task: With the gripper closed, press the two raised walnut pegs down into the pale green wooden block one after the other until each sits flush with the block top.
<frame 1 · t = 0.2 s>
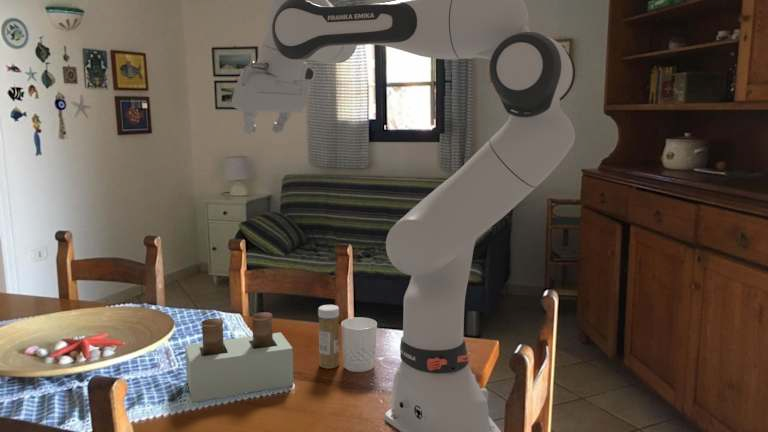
hand: (263, 132, 122), 51 cm above the table, tool tilted 20°, fingers open, 8 cm apart
peg 1: (212, 338, 122), point 10 cm above the table, slide at 6.0 cm
block: (239, 383, 125), on the table
white cup: (359, 367, 135), on the table
sprinkles bottle: (329, 366, 135), on the table
peg 2: (262, 331, 126), point 11 cm above the table, slide at 6.0 cm
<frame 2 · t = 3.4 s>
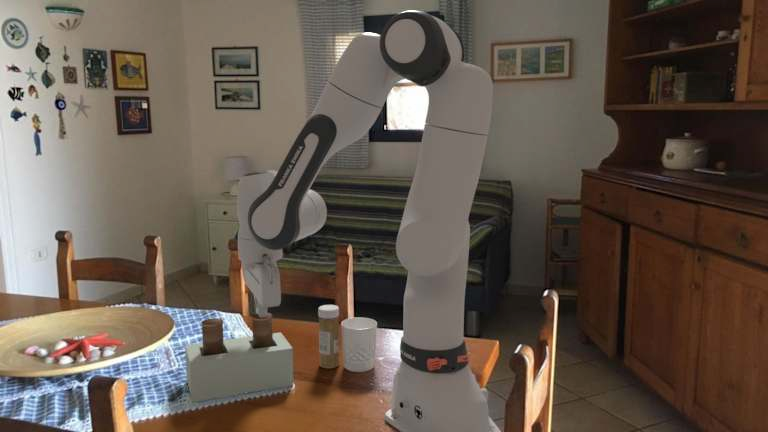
hand: (261, 315, 125), 14 cm above the table, tool pointing down, fingers closed, pressing on peg 2
peg 2: (262, 331, 126), point 10 cm above the table, slide at 5.9 cm, touching gripper
everything else where it was.
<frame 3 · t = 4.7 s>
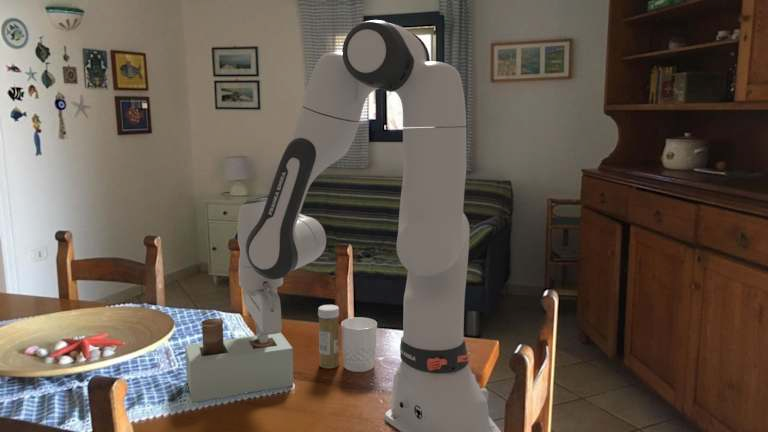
hand: (262, 341, 126), 8 cm above the table, tool pointing down, fingers closed, pressing on peg 2
peg 2: (263, 357, 127), point 5 cm above the table, slide at 0.5 cm, touching gripper
everything else where it was.
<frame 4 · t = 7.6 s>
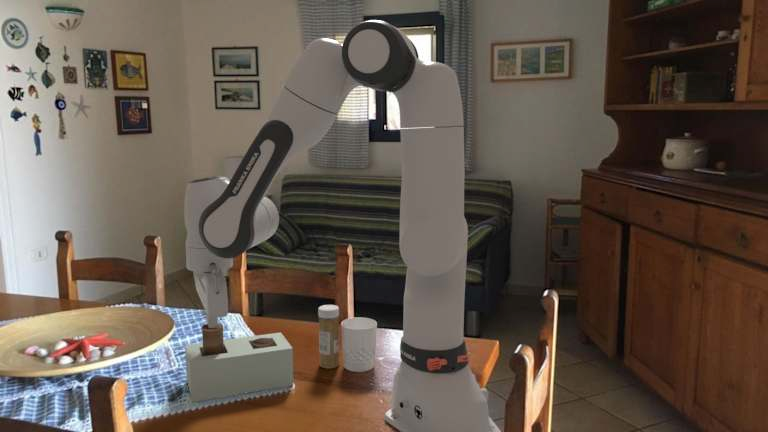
hand: (211, 325, 121), 13 cm above the table, tool pointing down, fingers closed, pressing on peg 1
peg 1: (213, 342, 122), point 10 cm above the table, slide at 5.0 cm, touching gripper
peg 2: (263, 357, 127), point 5 cm above the table, slide at 0.4 cm
everything else where it was.
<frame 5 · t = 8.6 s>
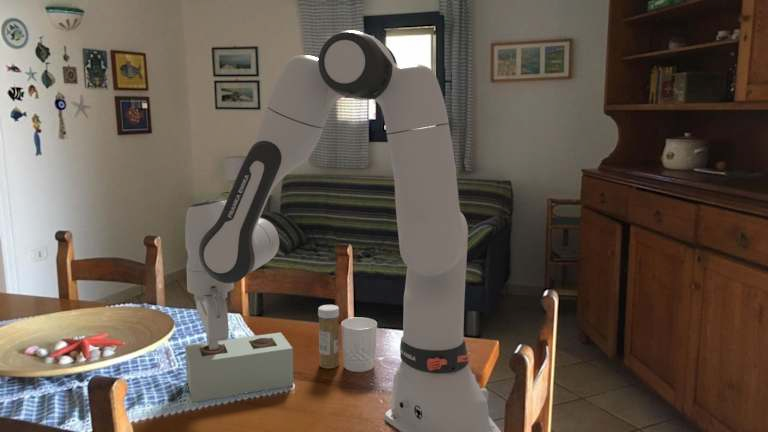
hand: (212, 347, 122), 9 cm above the table, tool pointing down, fingers closed, pressing on peg 1
peg 1: (214, 364, 123), point 5 cm above the table, slide at 0.5 cm, touching gripper
everything else where it was.
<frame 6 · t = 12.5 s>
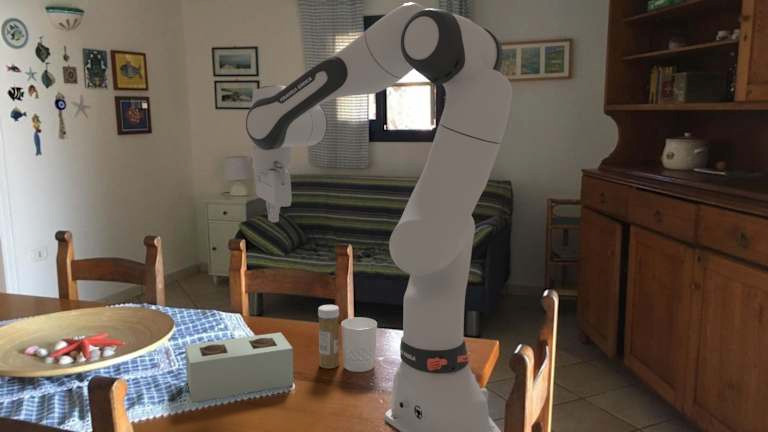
hand: (273, 221, 137), 31 cm above the table, tool pointing down, fingers closed
peg 1: (214, 364, 123), point 5 cm above the table, slide at 0.4 cm
everything else where it was.
at the end: peg 2 slide at 0.4 cm; peg 1 slide at 0.4 cm; peg 1 touching nothing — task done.
